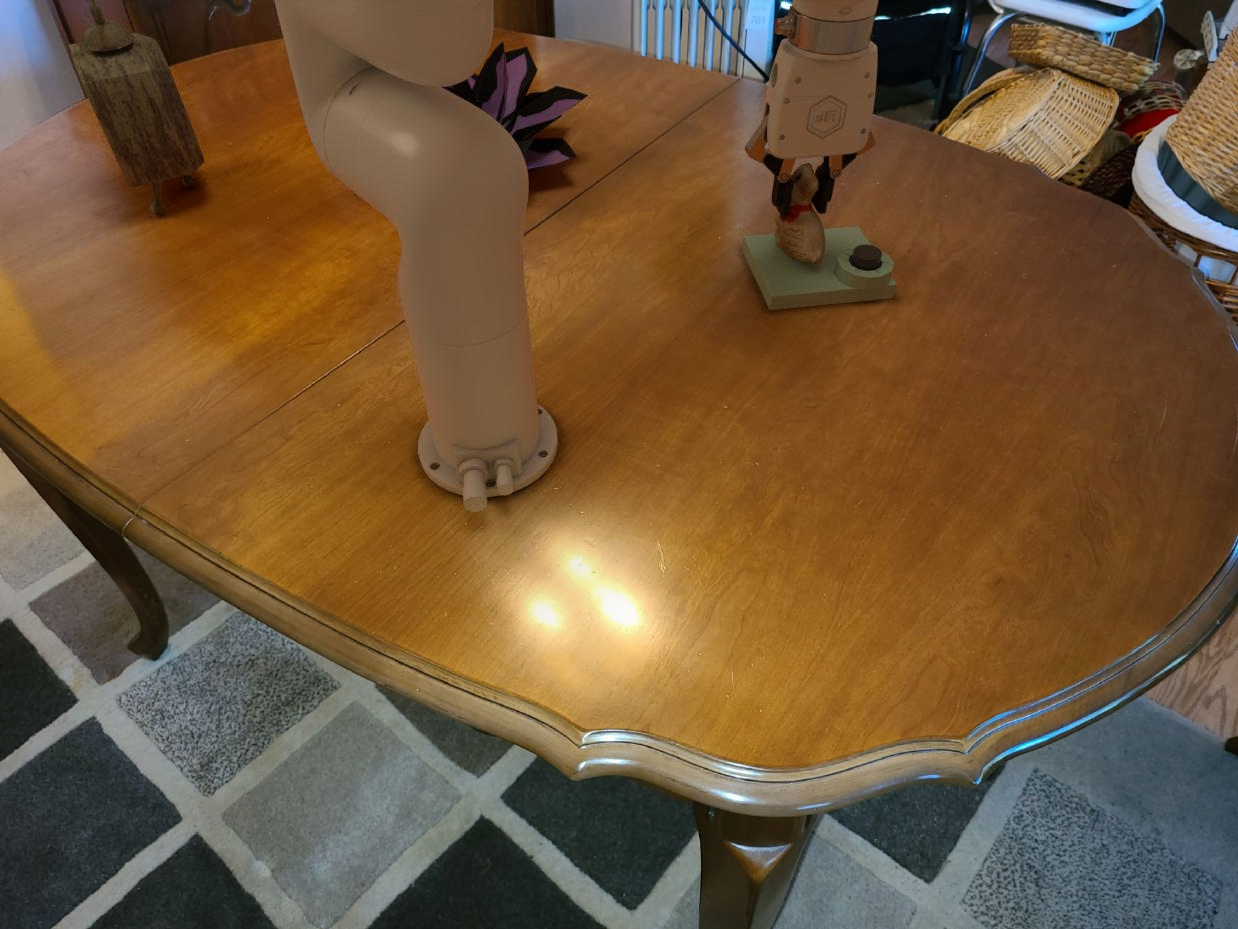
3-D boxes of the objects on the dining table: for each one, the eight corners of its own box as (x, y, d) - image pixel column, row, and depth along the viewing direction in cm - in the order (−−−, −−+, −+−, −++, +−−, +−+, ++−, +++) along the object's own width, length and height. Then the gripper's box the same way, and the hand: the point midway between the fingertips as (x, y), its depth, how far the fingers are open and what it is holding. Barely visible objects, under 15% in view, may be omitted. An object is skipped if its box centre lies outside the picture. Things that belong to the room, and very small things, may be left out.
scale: (894, 301, 92) (902, 274, 89) (770, 313, 90) (775, 286, 88) (855, 239, 100) (861, 213, 98) (741, 249, 99) (744, 223, 96)
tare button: (883, 270, 90) (886, 258, 89) (856, 273, 90) (859, 260, 89) (873, 255, 92) (876, 243, 91) (847, 257, 92) (849, 245, 91)
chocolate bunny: (818, 227, 97) (833, 143, 89) (826, 265, 91) (842, 179, 84) (770, 226, 97) (781, 142, 90) (775, 264, 91) (787, 178, 84)
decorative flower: (620, 197, 108) (616, 82, 96) (373, 256, 102) (336, 142, 90) (549, 81, 127) (538, -26, 115) (338, 125, 121) (304, 18, 109)
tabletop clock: (129, 175, 111) (33, -36, 93) (200, 158, 114) (120, -48, 96) (147, 225, 103) (45, 5, 85) (223, 206, 106) (140, -11, 88)
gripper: (753, 50, 74) (733, 234, 87) (931, 38, 76) (884, 220, 89) (732, 19, 79) (716, 197, 92) (900, 9, 81) (860, 185, 94)
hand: (799, 207), depth 91 cm, fingers closed on chocolate bunny, 3 cm apart
